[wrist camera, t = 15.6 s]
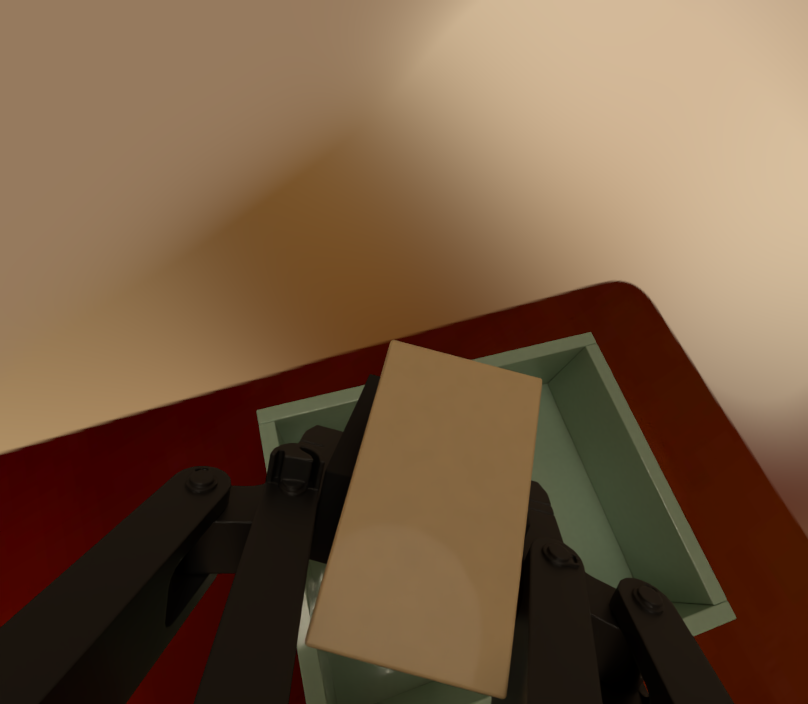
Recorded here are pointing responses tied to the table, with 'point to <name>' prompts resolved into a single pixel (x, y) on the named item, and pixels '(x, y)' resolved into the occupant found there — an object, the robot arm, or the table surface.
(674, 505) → the green open box
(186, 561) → the robot arm
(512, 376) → the block
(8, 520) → the table surface
